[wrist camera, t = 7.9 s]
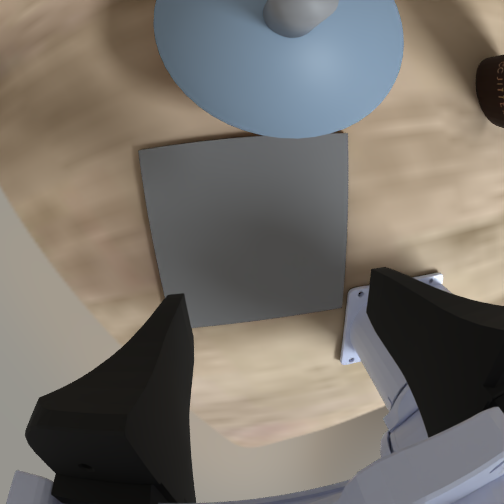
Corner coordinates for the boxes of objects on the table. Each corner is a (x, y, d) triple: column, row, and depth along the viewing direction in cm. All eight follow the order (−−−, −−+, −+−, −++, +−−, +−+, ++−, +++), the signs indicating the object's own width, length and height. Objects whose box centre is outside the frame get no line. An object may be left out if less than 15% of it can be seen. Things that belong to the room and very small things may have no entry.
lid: (381, -53, 10) (413, -76, 7) (403, 139, 16) (444, 147, 12) (156, -65, 9) (146, -100, 6) (163, 149, 15) (149, 157, 11)
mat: (344, 133, 19) (347, 133, 19) (339, 304, 24) (341, 307, 24) (140, 150, 18) (138, 150, 17) (173, 325, 23) (172, 329, 23)
